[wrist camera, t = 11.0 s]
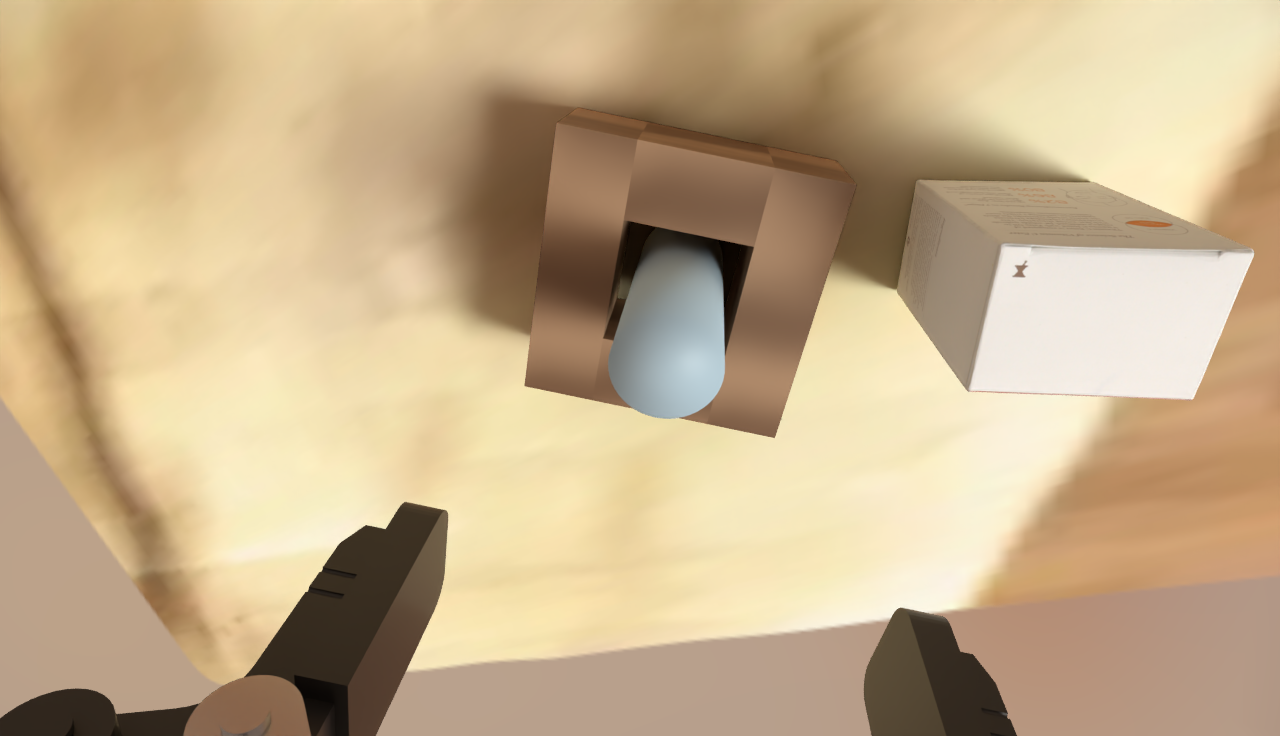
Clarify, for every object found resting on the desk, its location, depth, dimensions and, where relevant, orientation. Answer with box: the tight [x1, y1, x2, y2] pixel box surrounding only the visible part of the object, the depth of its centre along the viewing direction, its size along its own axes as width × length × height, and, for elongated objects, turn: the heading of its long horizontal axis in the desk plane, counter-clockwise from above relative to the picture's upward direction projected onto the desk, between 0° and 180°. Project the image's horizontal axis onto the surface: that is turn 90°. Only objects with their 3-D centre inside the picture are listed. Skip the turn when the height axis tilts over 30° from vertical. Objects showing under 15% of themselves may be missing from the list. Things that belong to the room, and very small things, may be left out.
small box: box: [897, 180, 1254, 400], centre depth 28 cm, size 8×6×10 cm
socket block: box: [525, 108, 857, 438], centre depth 32 cm, size 12×12×5 cm
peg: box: [608, 227, 725, 419], centre depth 29 cm, size 4×4×12 cm
